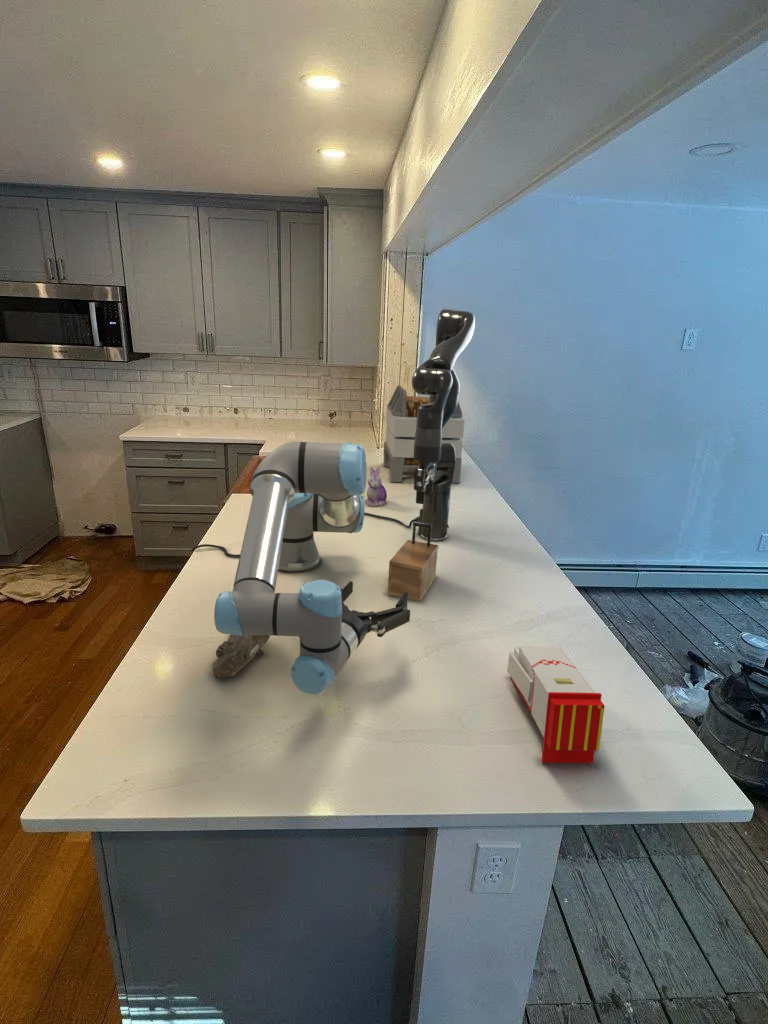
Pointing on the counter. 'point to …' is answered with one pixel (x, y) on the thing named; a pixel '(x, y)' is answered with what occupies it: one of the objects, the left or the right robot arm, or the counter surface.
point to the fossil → (236, 653)
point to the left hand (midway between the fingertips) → (378, 591)
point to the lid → (415, 551)
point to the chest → (411, 580)
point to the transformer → (403, 434)
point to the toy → (558, 703)
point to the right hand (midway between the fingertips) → (424, 499)
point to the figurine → (375, 489)
